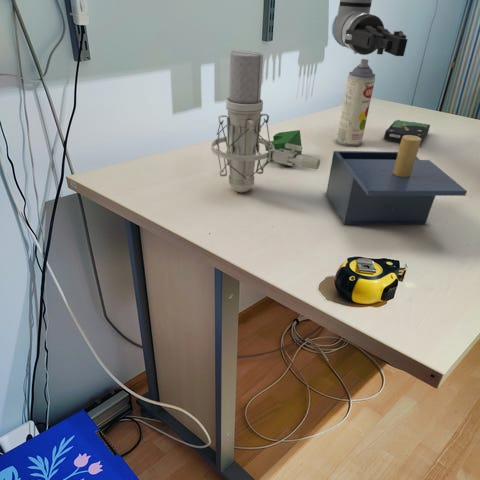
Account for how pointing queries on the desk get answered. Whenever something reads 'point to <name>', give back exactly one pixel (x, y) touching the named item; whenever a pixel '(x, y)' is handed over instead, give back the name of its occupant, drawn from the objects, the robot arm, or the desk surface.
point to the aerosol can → (356, 105)
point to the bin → (371, 196)
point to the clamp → (286, 141)
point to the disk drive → (406, 130)
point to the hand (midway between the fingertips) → (401, 47)
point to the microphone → (250, 125)
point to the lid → (403, 174)
